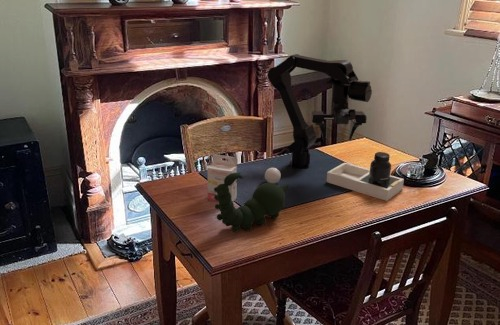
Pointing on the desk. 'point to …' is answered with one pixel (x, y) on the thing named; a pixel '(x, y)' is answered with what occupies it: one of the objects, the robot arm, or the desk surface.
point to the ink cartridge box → (221, 175)
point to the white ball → (272, 175)
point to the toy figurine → (249, 204)
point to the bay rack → (362, 181)
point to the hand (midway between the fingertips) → (336, 140)
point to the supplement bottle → (380, 170)
